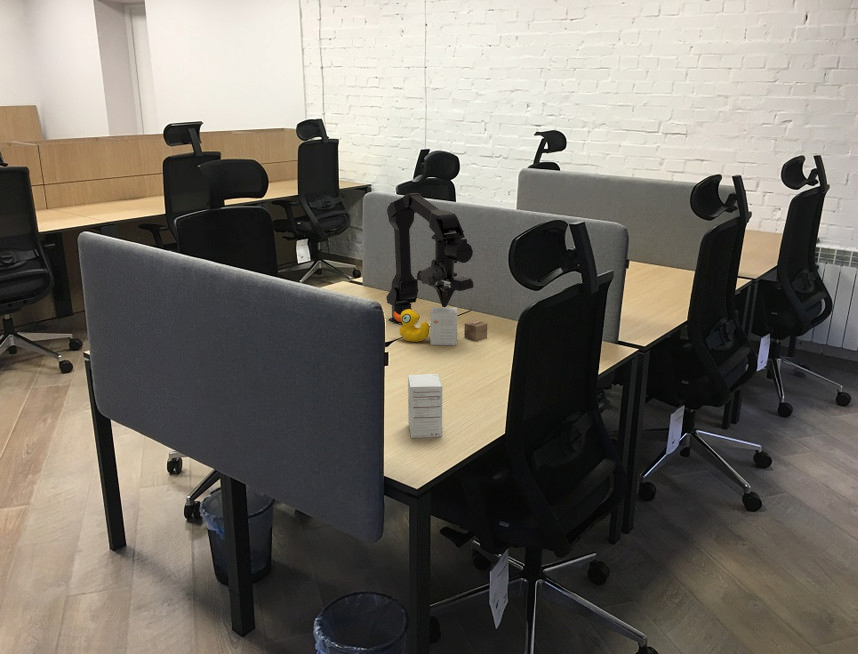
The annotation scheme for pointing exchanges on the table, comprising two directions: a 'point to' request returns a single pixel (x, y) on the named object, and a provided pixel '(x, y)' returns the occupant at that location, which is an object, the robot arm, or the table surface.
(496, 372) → the table surface
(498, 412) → the table surface
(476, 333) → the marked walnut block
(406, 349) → the table surface
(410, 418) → the supplement box
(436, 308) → the small box
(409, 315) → the duckling
